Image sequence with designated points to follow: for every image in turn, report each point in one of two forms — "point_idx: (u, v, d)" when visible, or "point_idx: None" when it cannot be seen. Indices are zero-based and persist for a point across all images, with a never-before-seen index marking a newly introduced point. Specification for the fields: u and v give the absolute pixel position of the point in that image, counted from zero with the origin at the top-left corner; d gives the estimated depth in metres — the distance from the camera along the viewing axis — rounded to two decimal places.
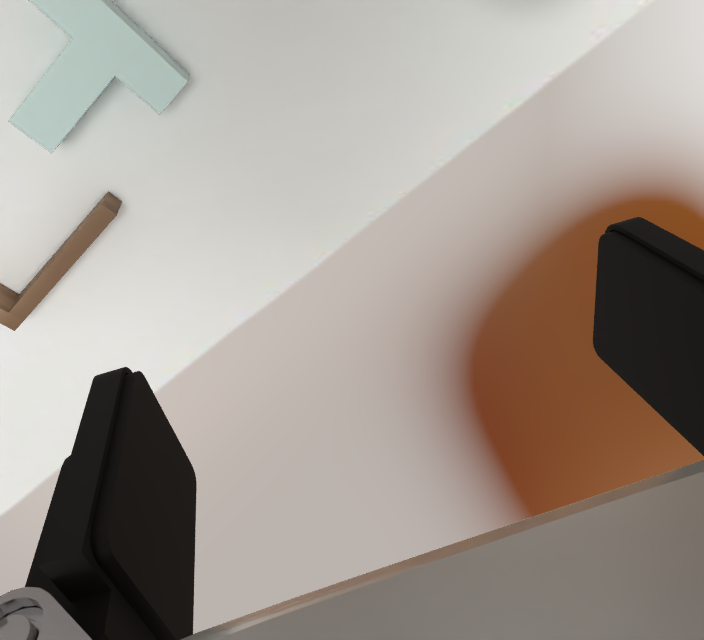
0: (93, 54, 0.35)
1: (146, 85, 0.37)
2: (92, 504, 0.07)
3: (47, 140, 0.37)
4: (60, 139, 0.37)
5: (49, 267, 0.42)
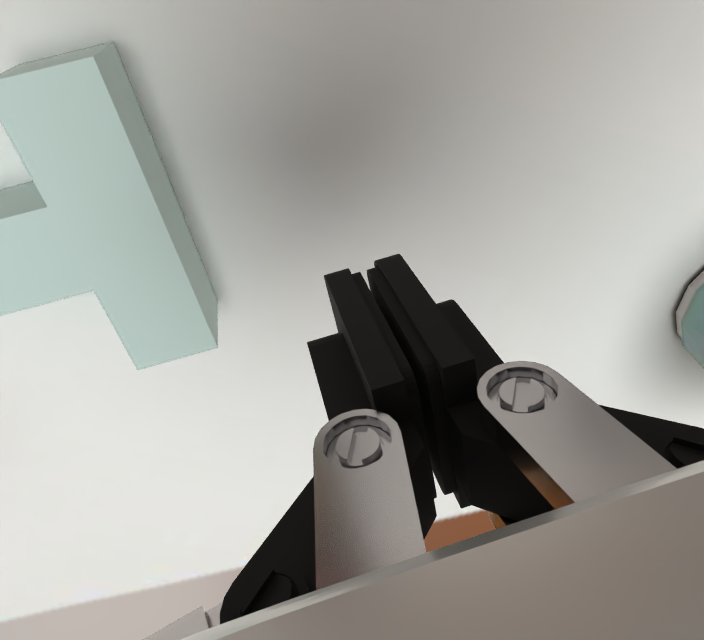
0: (73, 246, 0.17)
1: (143, 326, 0.19)
2: (390, 352, 0.08)
3: None
4: None
5: None
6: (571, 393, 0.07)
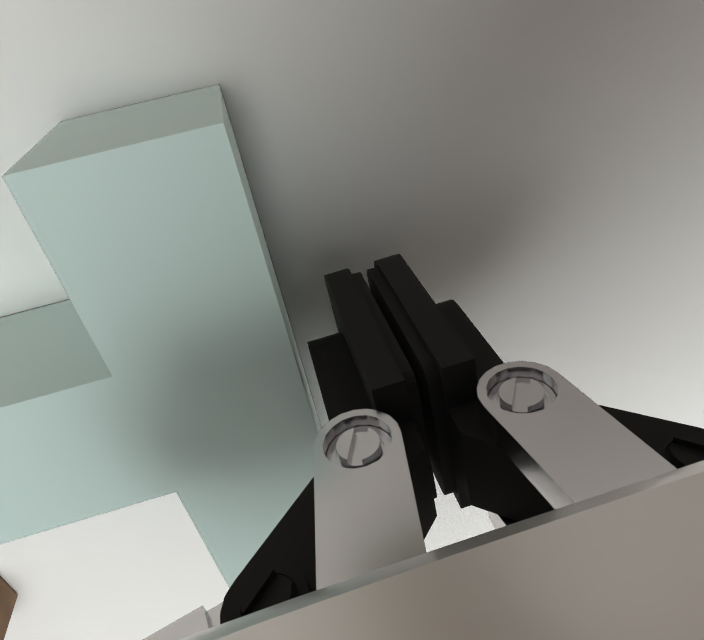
0: (151, 432, 0.10)
1: (246, 532, 0.12)
2: (390, 352, 0.08)
3: None
4: None
5: None
6: (571, 393, 0.07)
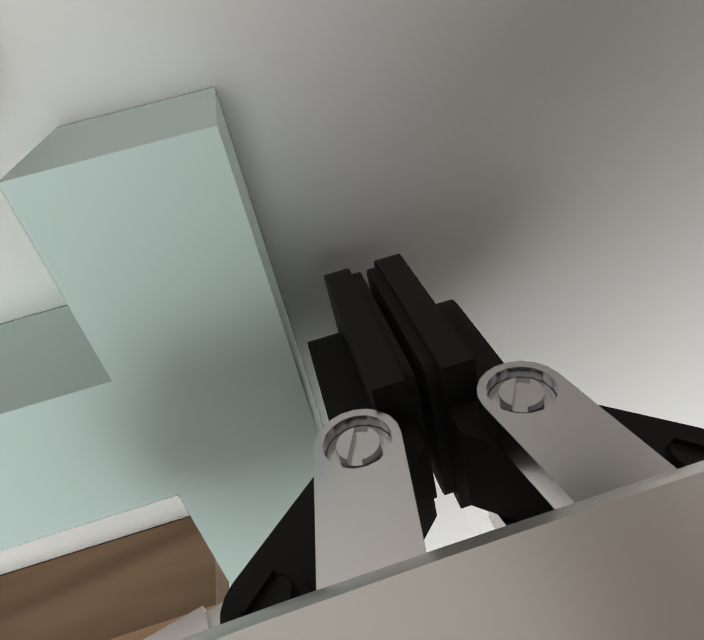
0: (152, 435, 0.10)
1: (249, 534, 0.12)
2: (390, 352, 0.08)
3: None
4: None
5: None
6: (571, 393, 0.07)
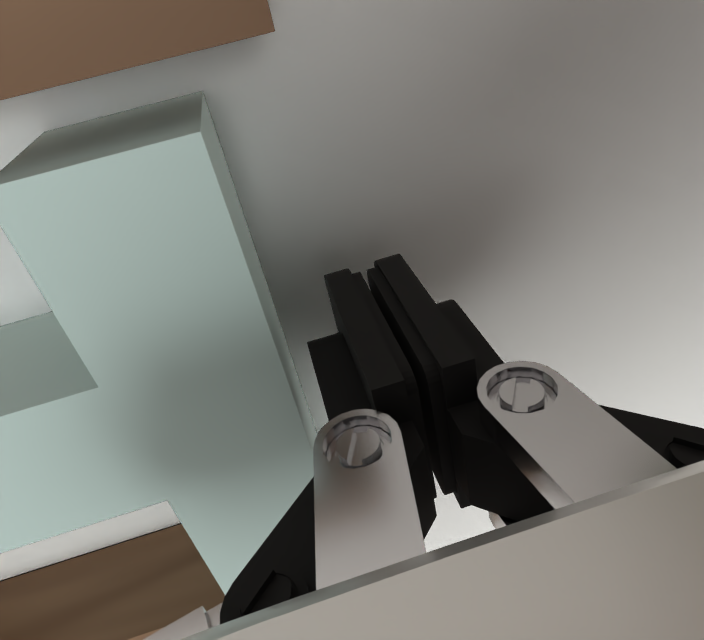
0: (140, 441, 0.10)
1: (240, 539, 0.12)
2: (390, 351, 0.08)
3: None
4: None
5: (146, 634, 0.14)
6: (571, 393, 0.07)
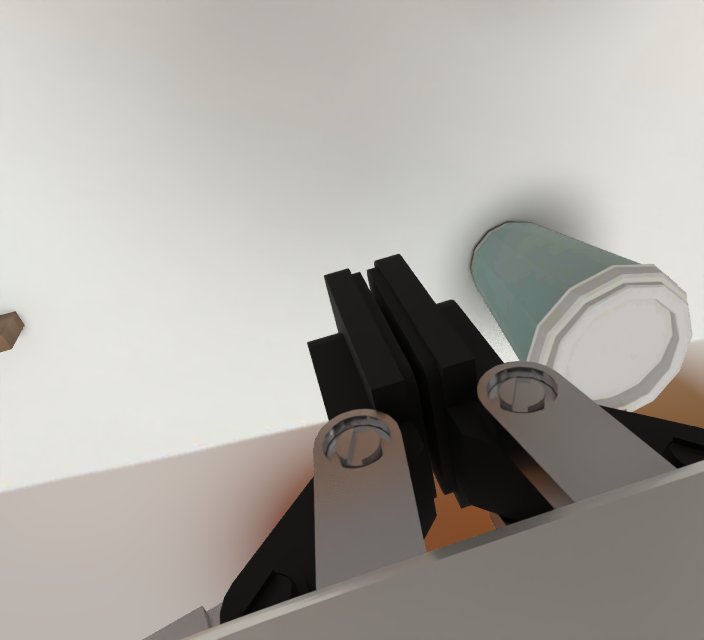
0: None
1: None
2: (390, 352, 0.08)
3: None
4: None
5: None
6: (571, 393, 0.07)
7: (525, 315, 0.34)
